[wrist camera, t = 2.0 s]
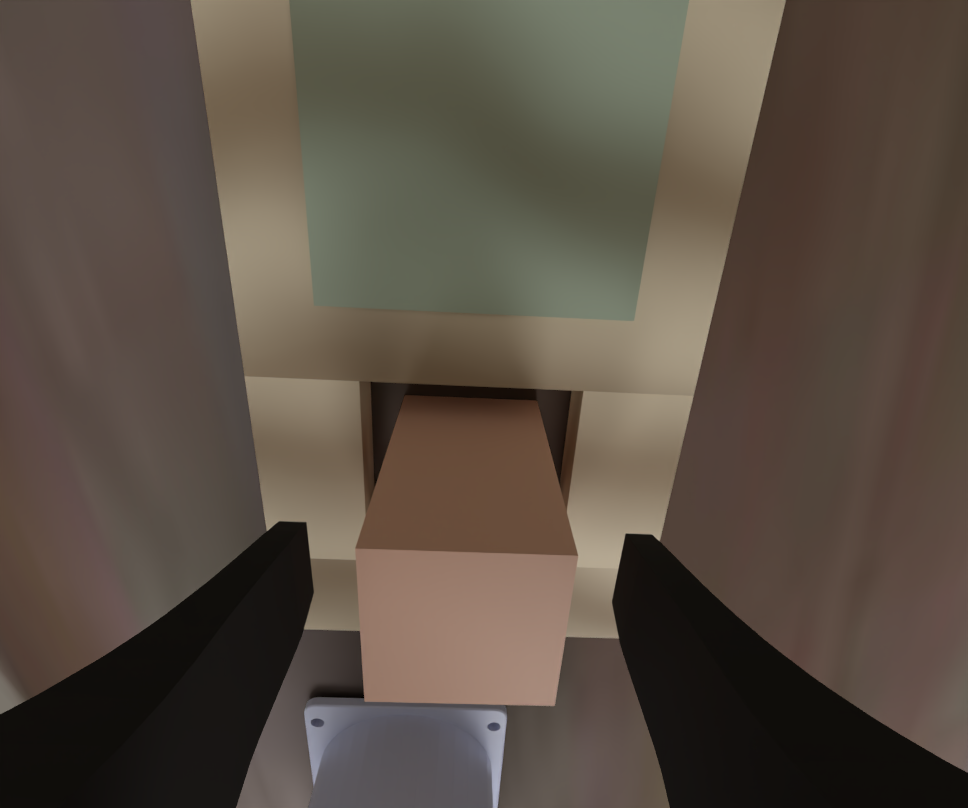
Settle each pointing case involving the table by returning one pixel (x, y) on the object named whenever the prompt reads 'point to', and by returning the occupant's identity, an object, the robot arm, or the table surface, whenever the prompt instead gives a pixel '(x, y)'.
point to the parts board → (478, 236)
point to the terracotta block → (465, 558)
